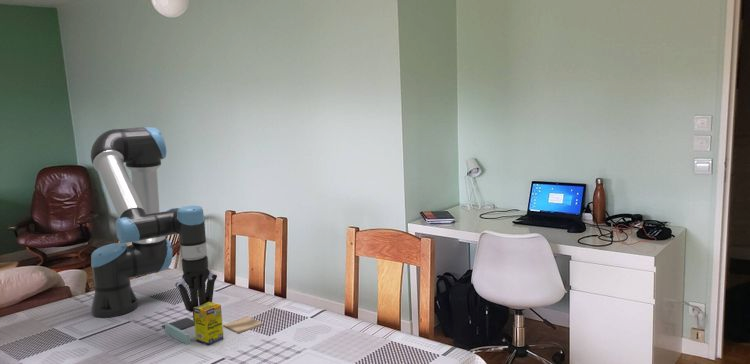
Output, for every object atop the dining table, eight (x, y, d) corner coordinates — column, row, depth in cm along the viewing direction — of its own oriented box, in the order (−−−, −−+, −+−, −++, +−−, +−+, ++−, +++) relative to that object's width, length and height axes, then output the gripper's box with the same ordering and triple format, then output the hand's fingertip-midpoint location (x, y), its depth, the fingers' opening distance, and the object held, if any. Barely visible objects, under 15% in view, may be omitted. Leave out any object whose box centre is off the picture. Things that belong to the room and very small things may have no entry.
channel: (165, 332, 176) (164, 323, 176) (200, 321, 185) (199, 312, 184) (186, 344, 167) (186, 335, 166) (222, 331, 175) (221, 322, 175)
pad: (223, 326, 179) (223, 324, 179) (247, 318, 186) (246, 316, 186) (238, 333, 173) (238, 331, 173) (262, 324, 180) (262, 322, 180)
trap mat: (161, 326, 182) (161, 325, 181) (187, 318, 188) (186, 317, 188) (172, 332, 176) (172, 332, 176) (198, 324, 182) (198, 323, 182)
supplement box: (208, 345, 165) (205, 310, 164) (195, 341, 169) (192, 307, 167) (224, 338, 170) (221, 304, 169) (211, 334, 173) (208, 301, 172)
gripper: (180, 263, 161) (187, 340, 165) (220, 253, 171) (226, 326, 174) (168, 259, 167) (175, 334, 170) (207, 250, 176) (213, 320, 179)
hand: (201, 330), depth 172 cm, fingers closed
